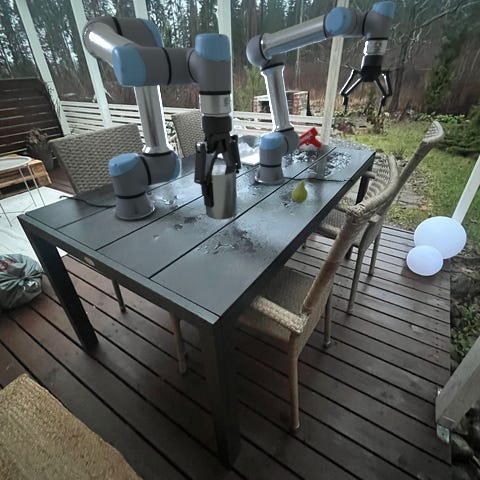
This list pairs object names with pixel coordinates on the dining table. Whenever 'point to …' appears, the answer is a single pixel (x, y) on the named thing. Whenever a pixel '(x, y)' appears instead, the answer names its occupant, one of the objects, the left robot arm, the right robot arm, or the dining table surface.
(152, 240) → the dining table surface
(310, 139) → the toy gun
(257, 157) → the relief map
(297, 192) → the fruit
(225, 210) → the tin
